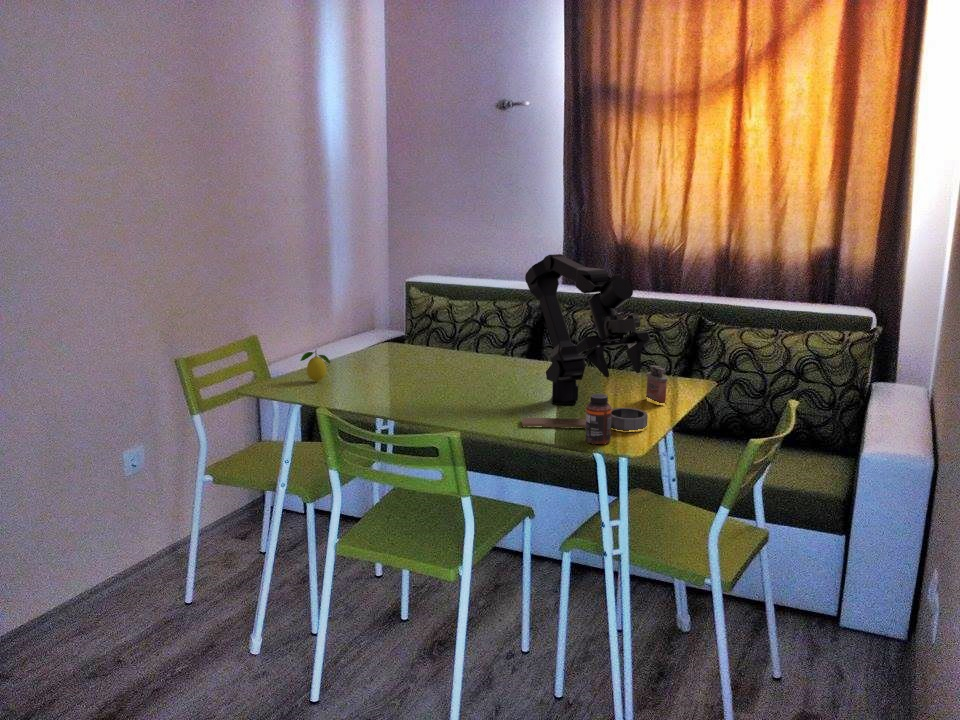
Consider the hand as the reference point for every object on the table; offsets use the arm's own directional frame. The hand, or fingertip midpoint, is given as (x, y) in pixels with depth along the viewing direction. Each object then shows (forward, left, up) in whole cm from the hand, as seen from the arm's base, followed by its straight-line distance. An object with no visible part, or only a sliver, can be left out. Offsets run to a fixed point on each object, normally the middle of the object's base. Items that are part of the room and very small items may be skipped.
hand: (623, 374), depth 225 cm
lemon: (-84, +36, -14) cm, 93 cm away
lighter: (+12, +24, -14) cm, 30 cm away
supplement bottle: (-6, -11, -14) cm, 19 cm away
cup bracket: (-9, +1, -14) cm, 16 cm away
